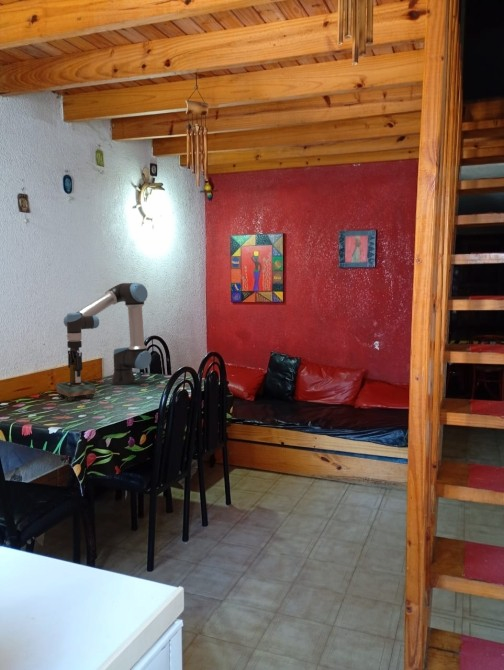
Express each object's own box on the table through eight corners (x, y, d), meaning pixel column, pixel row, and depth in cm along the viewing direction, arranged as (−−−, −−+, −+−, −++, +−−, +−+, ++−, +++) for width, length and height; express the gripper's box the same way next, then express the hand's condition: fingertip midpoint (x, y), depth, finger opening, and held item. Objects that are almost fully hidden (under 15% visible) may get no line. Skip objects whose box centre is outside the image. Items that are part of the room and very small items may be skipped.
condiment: (79, 382, 302) (79, 361, 301) (85, 384, 295) (84, 363, 294) (66, 384, 298) (66, 362, 297) (72, 386, 291) (71, 364, 290)
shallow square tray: (82, 393, 309) (81, 380, 309) (95, 398, 297) (95, 384, 296) (56, 397, 299) (56, 383, 299) (69, 402, 287) (68, 387, 286)
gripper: (60, 339, 300) (62, 380, 302) (75, 342, 286) (76, 384, 288) (73, 338, 305) (74, 378, 307) (88, 341, 291) (89, 383, 293)
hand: (75, 381), depth 297 cm, fingers closed on condiment, 6 cm apart
